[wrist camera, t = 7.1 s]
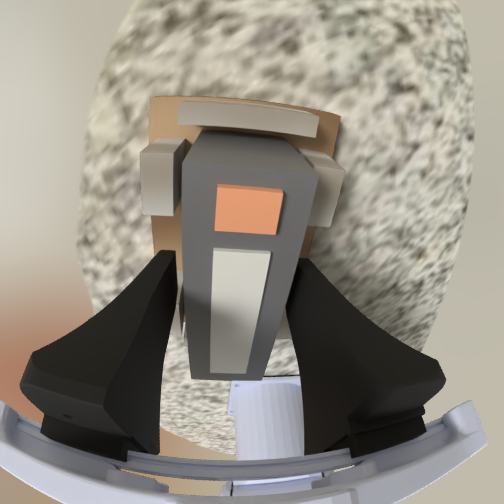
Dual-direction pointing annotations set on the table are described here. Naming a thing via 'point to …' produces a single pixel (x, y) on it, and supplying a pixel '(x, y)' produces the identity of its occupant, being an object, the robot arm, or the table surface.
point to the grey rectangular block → (240, 247)
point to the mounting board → (238, 120)
